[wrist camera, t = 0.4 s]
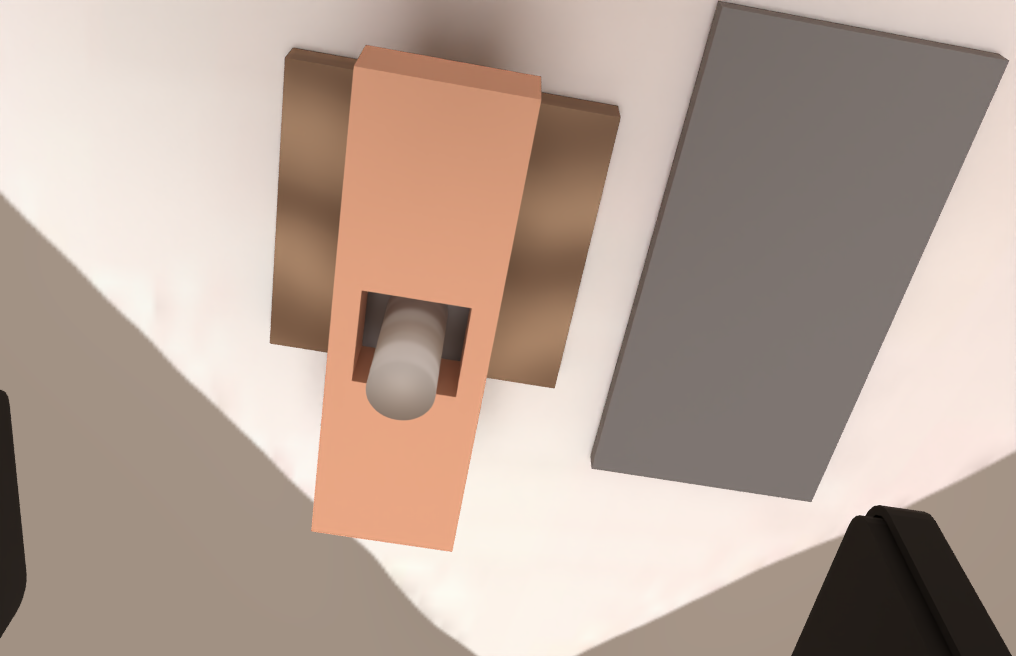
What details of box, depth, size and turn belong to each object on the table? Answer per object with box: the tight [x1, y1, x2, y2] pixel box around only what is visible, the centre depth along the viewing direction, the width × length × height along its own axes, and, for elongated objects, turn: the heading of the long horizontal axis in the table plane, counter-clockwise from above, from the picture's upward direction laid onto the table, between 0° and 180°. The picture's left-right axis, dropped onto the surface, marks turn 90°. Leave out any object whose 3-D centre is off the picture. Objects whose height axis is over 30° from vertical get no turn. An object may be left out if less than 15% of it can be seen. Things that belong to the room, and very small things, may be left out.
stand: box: [270, 48, 621, 420], centre depth 39 cm, size 14×14×14 cm
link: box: [311, 45, 541, 552], centre depth 37 cm, size 20×6×2 cm, turn 170°
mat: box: [591, 1, 1009, 502], centre depth 45 cm, size 24×12×1 cm, turn 170°
